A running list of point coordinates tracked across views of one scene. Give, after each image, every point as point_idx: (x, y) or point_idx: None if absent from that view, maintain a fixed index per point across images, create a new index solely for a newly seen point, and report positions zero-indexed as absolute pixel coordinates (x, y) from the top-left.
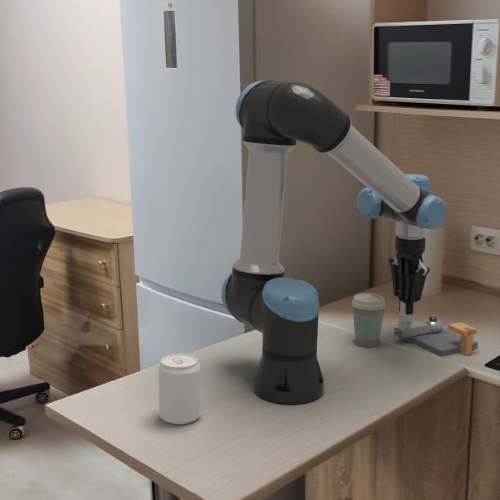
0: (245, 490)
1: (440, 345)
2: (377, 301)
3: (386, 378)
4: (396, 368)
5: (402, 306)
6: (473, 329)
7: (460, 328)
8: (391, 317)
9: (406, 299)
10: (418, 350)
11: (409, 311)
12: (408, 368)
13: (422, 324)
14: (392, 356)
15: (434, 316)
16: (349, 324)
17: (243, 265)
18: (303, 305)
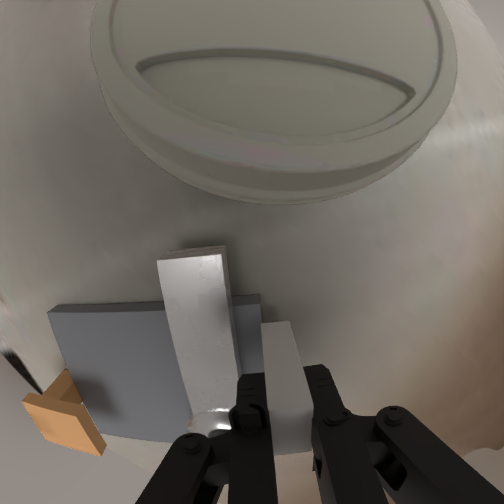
0: None
1: (84, 342)
2: (97, 8)
3: (12, 72)
4: (31, 117)
5: (282, 386)
6: (41, 431)
7: (44, 415)
8: (431, 366)
9: (251, 436)
10: (114, 274)
11: (237, 392)
12: (19, 152)
13: (202, 391)
14: (96, 146)
15: None
16: (455, 194)
17: None
18: None
